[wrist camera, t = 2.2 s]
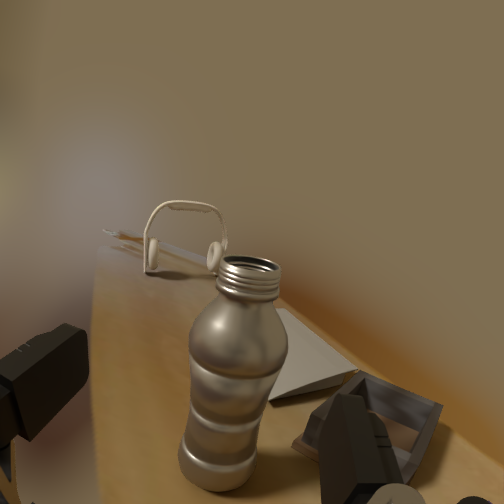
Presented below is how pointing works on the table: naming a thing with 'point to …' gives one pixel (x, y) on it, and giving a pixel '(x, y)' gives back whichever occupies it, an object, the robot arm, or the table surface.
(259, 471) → the table surface
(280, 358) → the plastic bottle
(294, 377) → the white router
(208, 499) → the table surface
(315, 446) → the open square tray
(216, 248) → the headset
